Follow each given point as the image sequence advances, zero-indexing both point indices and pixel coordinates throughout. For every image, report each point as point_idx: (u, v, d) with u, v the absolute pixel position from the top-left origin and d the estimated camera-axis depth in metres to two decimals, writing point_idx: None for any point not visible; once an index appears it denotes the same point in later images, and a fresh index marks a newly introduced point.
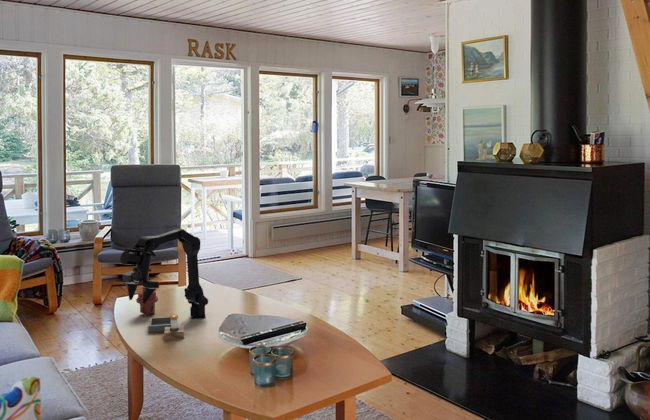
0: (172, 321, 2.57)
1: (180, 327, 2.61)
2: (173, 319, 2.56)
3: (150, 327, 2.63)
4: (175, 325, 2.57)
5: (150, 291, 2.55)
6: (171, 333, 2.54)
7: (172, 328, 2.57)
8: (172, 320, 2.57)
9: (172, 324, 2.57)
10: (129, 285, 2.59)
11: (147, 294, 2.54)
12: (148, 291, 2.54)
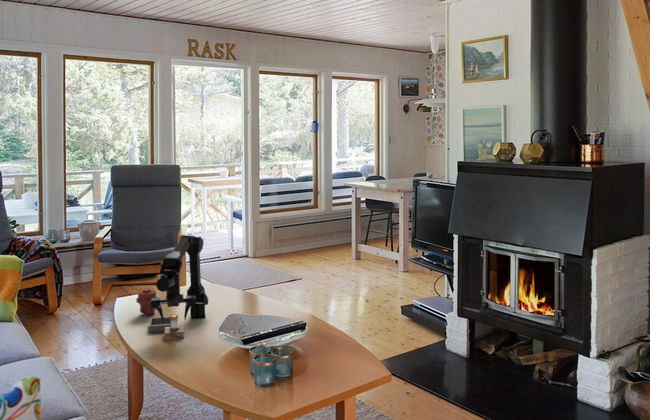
0: (172, 321, 2.57)
1: (180, 327, 2.61)
2: (173, 319, 2.56)
3: (150, 327, 2.63)
4: (175, 325, 2.57)
5: None
6: (171, 333, 2.54)
7: (172, 328, 2.57)
8: (172, 320, 2.57)
9: (172, 324, 2.57)
10: (161, 308, 2.55)
11: None
12: None
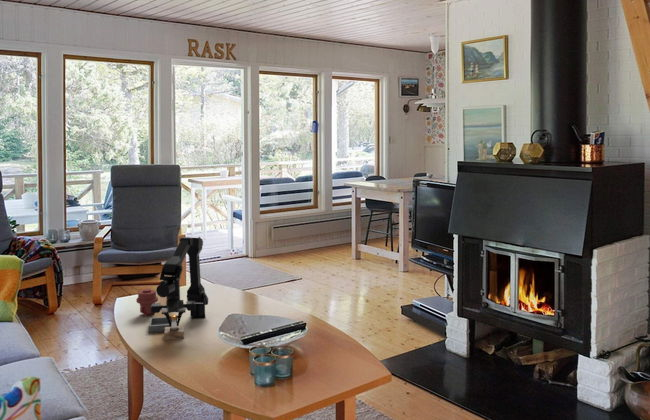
0: (172, 321, 2.57)
1: (180, 327, 2.61)
2: (173, 319, 2.56)
3: (150, 327, 2.63)
4: (175, 325, 2.57)
5: None
6: (171, 333, 2.54)
7: (172, 328, 2.57)
8: (172, 320, 2.57)
9: (172, 324, 2.57)
10: (168, 313, 2.56)
11: None
12: None
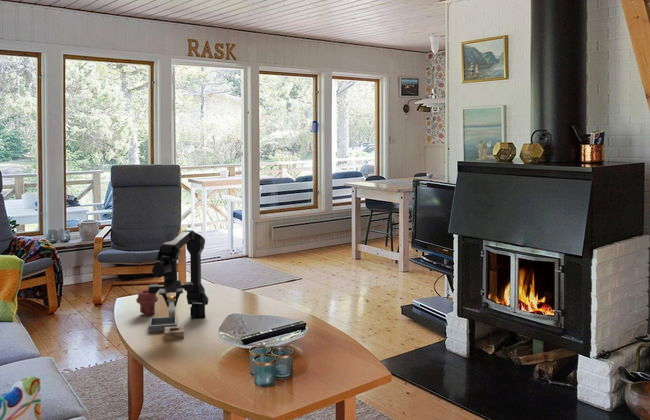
0: (170, 302, 2.58)
1: (180, 327, 2.61)
2: (171, 300, 2.58)
3: (150, 327, 2.63)
4: (173, 306, 2.59)
5: None
6: (171, 333, 2.54)
7: (170, 309, 2.59)
8: (170, 301, 2.58)
9: (170, 305, 2.58)
10: (166, 294, 2.57)
11: None
12: None
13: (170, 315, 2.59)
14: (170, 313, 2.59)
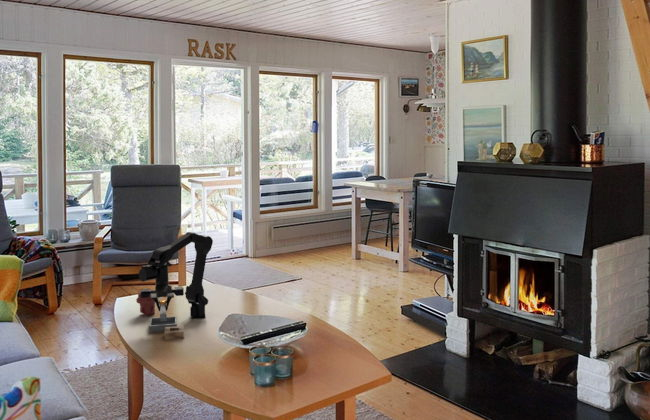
0: (161, 306, 2.68)
1: (180, 327, 2.61)
2: (162, 304, 2.67)
3: (150, 327, 2.63)
4: (164, 310, 2.68)
5: None
6: (171, 333, 2.54)
7: (161, 312, 2.68)
8: (161, 305, 2.68)
9: (161, 309, 2.68)
10: (157, 298, 2.67)
11: None
12: None
13: (161, 319, 2.69)
14: (161, 317, 2.68)
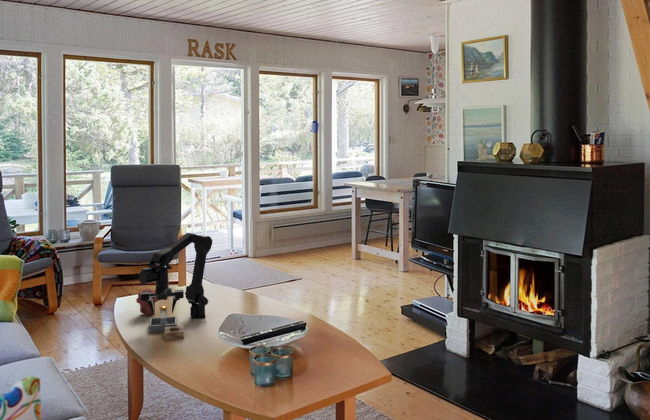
0: (161, 312, 2.68)
1: (180, 327, 2.61)
2: (162, 310, 2.68)
3: (150, 327, 2.63)
4: (164, 315, 2.69)
5: None
6: (171, 333, 2.54)
7: (161, 318, 2.68)
8: (161, 311, 2.68)
9: (161, 315, 2.68)
10: (151, 301, 2.66)
11: (174, 303, 2.70)
12: None
13: (162, 324, 2.69)
14: (162, 323, 2.69)
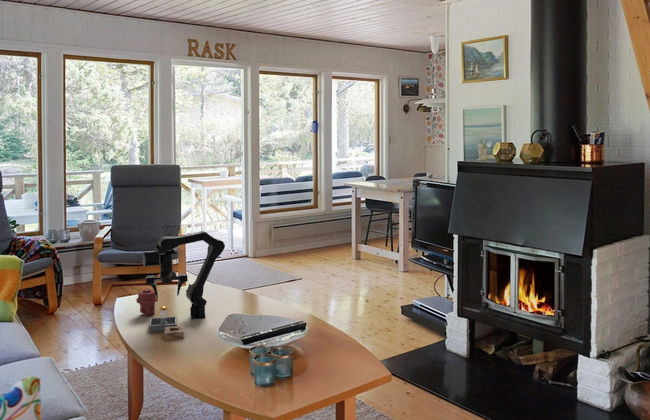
0: (161, 312, 2.68)
1: (180, 327, 2.61)
2: (162, 310, 2.68)
3: (150, 327, 2.63)
4: (164, 315, 2.69)
5: None
6: (171, 333, 2.54)
7: (161, 318, 2.68)
8: (161, 311, 2.68)
9: (161, 315, 2.68)
10: (155, 285, 2.74)
11: None
12: None
13: (162, 324, 2.69)
14: (162, 323, 2.69)
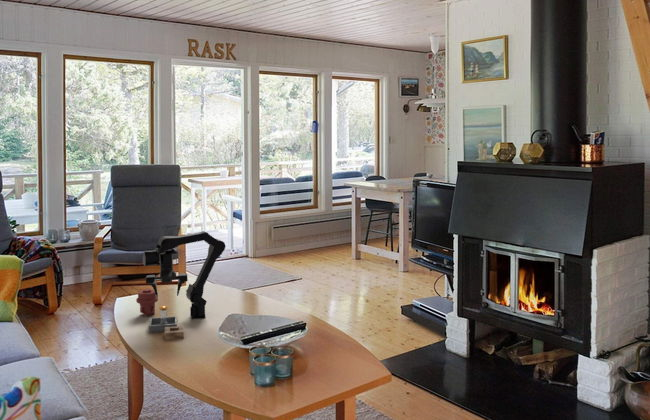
0: (161, 312, 2.68)
1: (180, 327, 2.61)
2: (162, 310, 2.68)
3: (150, 327, 2.63)
4: (164, 315, 2.69)
5: None
6: (171, 333, 2.54)
7: (161, 318, 2.69)
8: (161, 311, 2.68)
9: (161, 314, 2.68)
10: (155, 284, 2.74)
11: None
12: None
13: (162, 324, 2.69)
14: (162, 323, 2.69)
